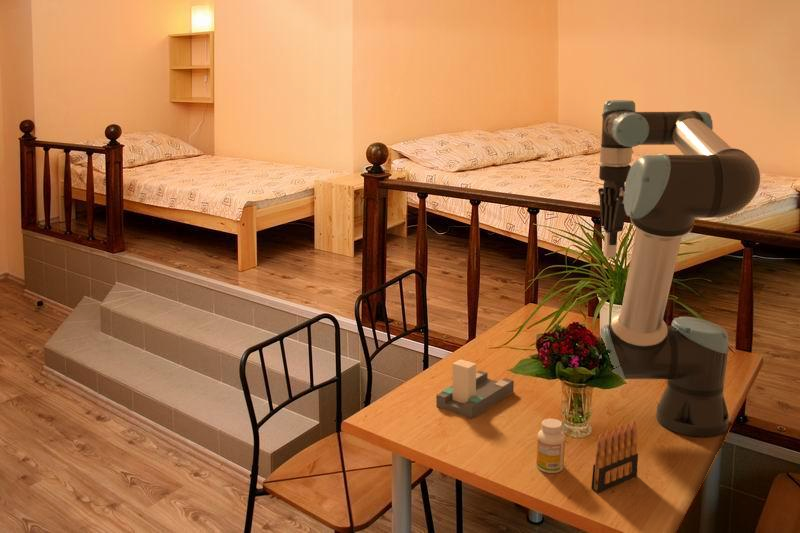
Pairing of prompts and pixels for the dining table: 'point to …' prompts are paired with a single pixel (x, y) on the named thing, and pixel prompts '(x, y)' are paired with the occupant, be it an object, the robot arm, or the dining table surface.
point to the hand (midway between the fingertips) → (609, 256)
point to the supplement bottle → (550, 446)
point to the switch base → (477, 396)
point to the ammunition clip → (615, 458)
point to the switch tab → (463, 381)
